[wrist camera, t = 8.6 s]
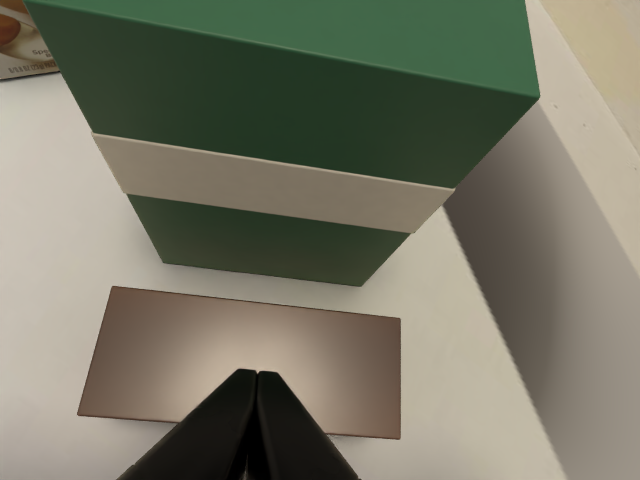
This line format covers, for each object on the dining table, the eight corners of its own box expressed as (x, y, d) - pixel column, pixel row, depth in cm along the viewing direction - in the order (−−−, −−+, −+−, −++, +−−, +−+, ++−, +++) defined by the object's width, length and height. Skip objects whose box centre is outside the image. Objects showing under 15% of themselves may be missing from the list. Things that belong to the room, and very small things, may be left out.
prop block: (367, 433, 17) (401, 439, 14) (114, 414, 16) (75, 416, 12) (370, 335, 19) (401, 317, 15) (138, 311, 18) (111, 285, 14)
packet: (362, 288, 20) (545, 100, 8) (161, 263, 18) (14, -1, 7) (365, 209, 21) (520, -46, 9) (180, 182, 20) (88, -148, 8)
